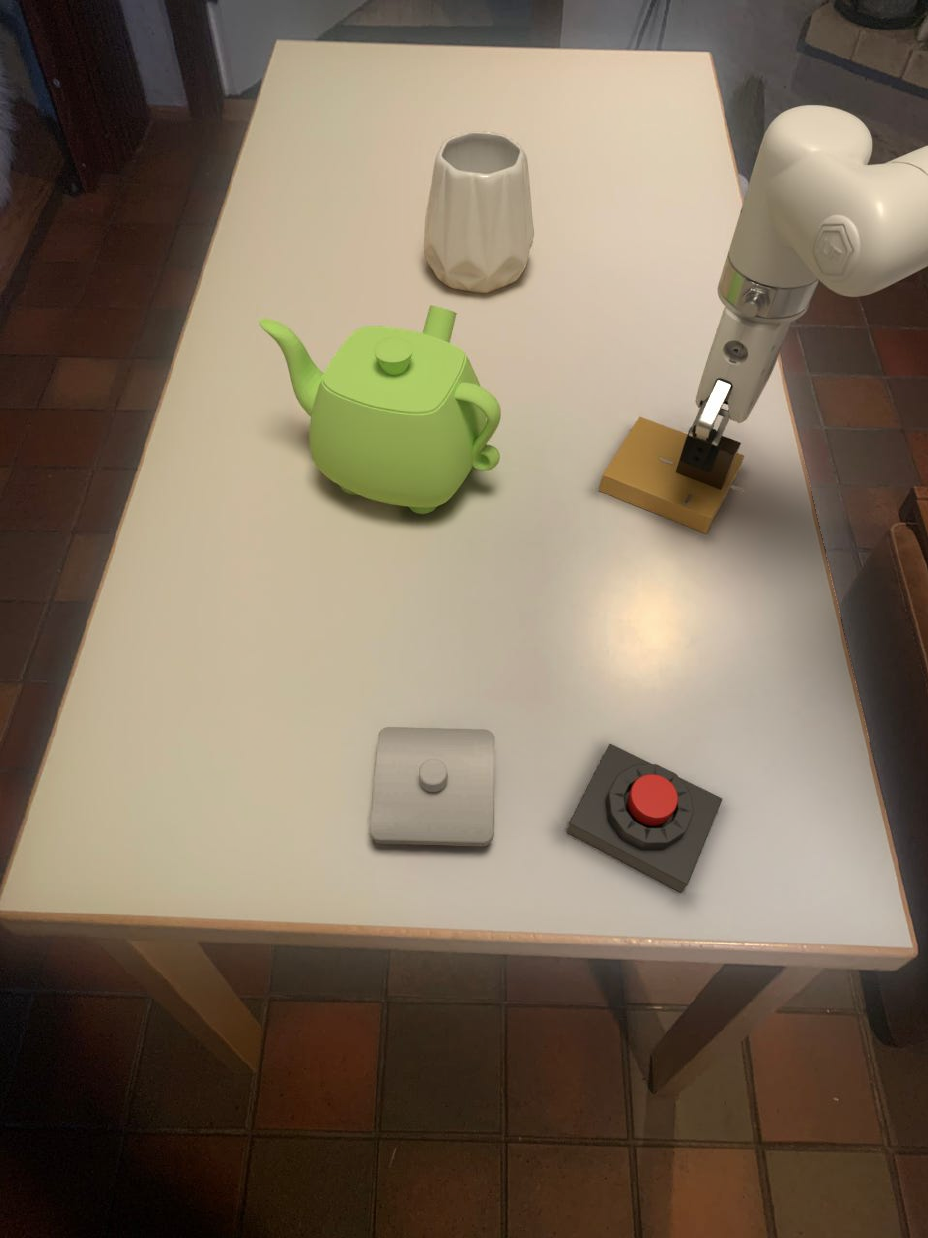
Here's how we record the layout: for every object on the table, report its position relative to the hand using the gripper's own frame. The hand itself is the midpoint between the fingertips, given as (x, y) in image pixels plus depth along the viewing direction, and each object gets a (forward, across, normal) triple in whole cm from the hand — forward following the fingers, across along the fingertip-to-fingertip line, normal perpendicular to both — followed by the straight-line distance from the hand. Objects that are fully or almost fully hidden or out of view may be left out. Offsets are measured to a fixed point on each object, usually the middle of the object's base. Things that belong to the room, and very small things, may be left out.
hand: (713, 433), depth 83 cm
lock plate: (+8, 0, +3) cm, 9 cm away
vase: (+9, +23, +39) cm, 46 cm away
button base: (+8, -37, -9) cm, 39 cm away
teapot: (+9, -10, +31) cm, 33 cm away
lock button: (+4, -37, -9) cm, 38 cm away
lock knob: (+6, 0, 0) cm, 6 cm away
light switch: (+8, -43, +7) cm, 44 cm away
